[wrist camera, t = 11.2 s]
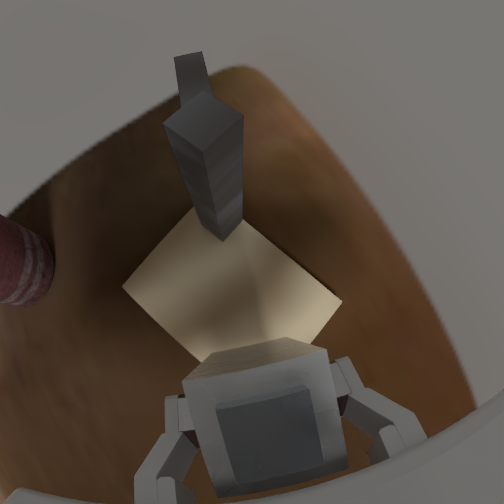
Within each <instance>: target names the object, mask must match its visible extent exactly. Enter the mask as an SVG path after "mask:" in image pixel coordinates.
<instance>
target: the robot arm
mask: <svg viewBox="0 0 504 504" xmlns="http://www.w3.org/2000/svg"><path fill="white" fill-rule="evenodd" d="M329 364H330V368H331V373H332V378H333V383H334V388H335V393H336V398H337V403H338V408H339V413H340V417H341V416H343V417H344V418H345V419H346V420H348V421H349V422H350V423H352V424H353V425H354V426H356V427H357V428H359V429H360V430H361V431H363V432H364V433H365V434H367V435H368V436H370V437H371V438H372V439H374V441H373V443H372V445H371V446H370V448H369V450H368V451H367V455H368V457H369V459H370V462H371V464H372V466H369V467H367V468H364V469H362V470H359V471H357V472H354V473H351V474H348V475H346V476H343V477H340V478H337V479H334V480H331V481H327V482H324V483H321V484H318V485H314V486H311V487H307V488H303V489H299V490H295V491H291V492H287V493H283V494H278V495H273V496H269V497H263V498H258V499H252V500H246V501H239V502H232V503H224V504H504V389H503V390H502V391H500V392H499V393H498V394H497V395H495V396H494V397H493V398H491V399H490V400H489V401H487V402H486V403H485V404H483V405H482V406H480V407H479V408H477V409H476V410H474V411H473V412H471V413H470V414H469V415H467V416H465V417H464V418H462V419H461V420H459V421H458V422H456V423H455V424H453V425H451V426H450V427H448V428H446V429H445V430H443V431H441V432H439V433H438V434H436V435H434V436H432V437H431V438H429V439H428V438H427V436H426V434H425V433H424V431H423V429H422V427H421V425H420V423H419V421H418V419H417V418H416V416H415V414H414V413H413V412H411V411H409V410H408V409H406V408H404V407H402V406H400V405H398V404H397V403H395V402H393V401H391V400H389V399H388V398H386V397H384V396H382V395H381V394H379V393H377V392H375V391H374V390H372V389H370V388H364V386H363V384H362V382H361V380H360V378H359V376H358V374H357V372H356V370H355V368H354V366H353V364H352V362H351V360H350V358H348V357H347V356H346V357H343V358H340V359H337V360H333V361H329ZM198 448H200V445H199V442H198V438H197V435H196V432H195V428H194V425H193V422H192V418H191V415H190V411H189V407H188V404H187V400H186V396H185V394H181V395H172V396H166V398H165V433H164V434H161V436H160V437H159V439H158V440H157V442H156V444H155V445H154V447H153V448H152V450H151V451H150V453H149V454H148V456H147V457H146V459H145V460H144V462H143V463H142V465H141V467H140V468H139V470H138V471H137V473H136V474H135V476H134V498H135V504H196V499H195V492H193V491H192V490H191V489H189V488H187V487H186V486H184V485H183V484H182V482H183V480H184V478H185V476H186V474H187V472H188V470H189V468H190V466H191V464H192V461H193V459H194V457H195V455H196V453H197V451H198ZM3 504H102V503H94V502H87V501H81V500H75V499H69V498H64V497H59V496H54V495H50V494H46V493H42V492H38V491H34V490H30V489H27V488H22V487H20V488H17V489H16V490H15V491H14V492H13V493H12V494H11V495H10V496H9V497H8V498H7V500H6V501H5V502H4V503H3Z"/></svg>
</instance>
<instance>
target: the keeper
mask: <svg viewBox="0 0 504 504" xmlns="http://www.w3.org/2000/svg"><path fill="white" fill-rule="evenodd" d="M174 61H175V68H176V75H177V82H178V89H179V95H180V102H181V108H180V109H179V110H177V111H176V112H175V113H174V114H173V115H171V116H170V117H169V118H168V119H167V120H166V121H164V122H163V126H164V129H165V132H166V134H167V137H168V140H169V143H170V145H171V148H172V151H173V153H174V156H175V159H176V161H177V164H178V166H179V169H180V172H181V174H182V177H183V179H184V182H185V185H186V187H187V190H188V192H189V195H190V197H191V200H192V203H193V205H194V206H193V208H192V209H191V210H190V211H189V212H188V213H187V214H186V215H185V216H184V217H183V218H182V219H181V220H180V221H179V222H178V223H177V225H176V226H175V227H174V228H173V229H172V230H171V231H170V232H169V233H168V234H167V235H166V236H165V238H164V239H163V240H162V241H161V242H160V243H159V244H158V245H157V246H156V248H155V249H154V250H153V251H152V252H151V253H150V254H149V255H148V257H147V258H146V259H145V260H144V261H143V262H142V263H141V265H140V266H139V267H138V268H137V269H136V270H135V272H134V273H133V274H132V275H131V276H130V277H129V279H128V280H127V281H126V282H125V283H124V284H123V286H122V288H123V289H124V290H125V291H126V292H127V293H128V294H129V295H130V296H131V297H132V298H133V299H134V300H135V301H136V302H137V303H138V304H139V305H140V306H141V307H142V308H143V309H144V310H145V311H146V312H147V313H148V314H149V315H150V316H151V317H152V318H153V319H154V320H155V321H156V322H157V323H158V324H159V325H160V326H161V327H163V328H164V329H165V330H166V331H167V332H168V333H169V334H170V335H171V336H172V337H173V338H174V339H175V340H177V341H178V342H179V343H180V344H181V345H182V346H183V347H184V348H185V349H186V350H188V351H189V352H190V353H191V354H192V355H193V356H194V357H196V358H197V359H198V360H199V361H200V362H201V363H202V362H203V361H204V360H205V359H206V358H207V357H208V356H209V355H210V354H211V353H213V352H219V351H224V350H229V349H234V348H238V347H243V346H248V345H252V344H257V343H261V342H265V341H270V340H274V339H278V338H282V337H289V338H292V339H295V340H298V341H301V342H304V343H307V344H310V343H311V342H312V341H313V339H314V338H315V337H316V336H317V334H318V333H319V332H320V331H321V329H322V328H323V327H324V325H325V324H326V323H327V322H328V320H329V319H330V318H331V316H332V315H333V314H334V312H335V311H336V310H337V308H338V307H339V306H340V304H341V303H342V301H341V300H340V299H339V298H337V297H336V296H335V295H334V294H333V293H331V292H330V291H329V290H328V289H327V288H326V287H324V286H323V285H322V284H321V283H320V282H318V281H317V280H316V279H315V278H314V277H312V276H311V275H310V274H309V273H308V272H306V271H305V270H304V269H303V268H302V267H300V266H299V265H298V264H297V263H296V262H294V261H293V260H292V259H291V258H289V257H288V256H287V255H286V254H285V253H283V252H282V251H281V250H280V249H279V248H277V247H276V246H275V245H274V244H272V243H271V242H270V241H269V240H268V239H266V238H265V237H264V236H263V235H261V234H260V233H259V232H258V231H257V230H255V229H254V228H253V227H252V226H250V225H249V224H248V223H247V222H245V221H244V220H243V219H242V216H243V117H244V115H242V114H241V113H239V112H237V111H236V110H234V109H233V108H231V107H229V106H228V105H226V104H224V103H223V102H221V101H220V100H218V99H216V98H215V97H213V93H212V89H211V85H210V81H209V77H208V73H207V70H206V66H205V62H204V58H203V54H202V51H201V52H197V53H191V54H186V55H182V56H178V57H174Z"/></svg>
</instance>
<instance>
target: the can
mask: <svg viewBox="0 0 504 504" xmlns="http://www.w3.org/2000/svg"><path fill="white" fill-rule="evenodd" d="M53 272H54V263H53V256H52V253H51V250H50V247H49V245H48V243H47V242H46V240H45V239H44V238H43V237H41V236H39V235H38V234H36V233H34V232H32V231H30V230H28V229H26V228H24V227H23V226H21V225H19V224H17V223H15V222H13V221H11V220H10V219H8V218H6V217H4V216H2V215H1V214H0V303H5V304H11V305H17V306H24V307H27V306H31V305H34V304H36V303H37V302H38V301H40V300H41V299H42V298H43V297H44V295H45V294H46V292H47V291H48V289H49V287H50V284H51V282H52V279H53Z"/></svg>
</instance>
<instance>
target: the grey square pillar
mask: <svg viewBox="0 0 504 504" xmlns="http://www.w3.org/2000/svg"><path fill="white" fill-rule="evenodd" d="M182 385H183V389H184V393H185V396H186V400H187V404H188V407H189V411H190V415H191V418H192V422H193V425H194V428H195V432H196V435H197V438H198V442H199V445H200V448H201V451H202V454H203V457H204V460H205V463H206V466H207V469H208V472H209V475H210V478H211V481H212V484H213V486H214V489H215V492H216V495H217V497H218V498H223V497H231V496H238V495H245V494H251V493H257V492H262V491H267V490H272V489H277V488H282V487H286V486H290V485H294V484H298V483H302V482H306V481H309V480H313V479H316V478H320V477H323V476H326V475H330V474H333V473H336V472H339V471H342V470H345V469H347V468H349V465H348V459H347V453H346V447H345V441H344V435H343V430H342V424H341V419H340V413H339V408H338V403H337V398H336V393H335V388H334V383H333V378H332V373H331V368H330V364H329V359H328V354H327V350H326V349H324V348H320V347H317V346H314V345H311V344H307V343H304V342H301V341H298V340H295V339H292V338H289V337H282V338H278V339H274V340H270V341H265V342H261V343H257V344H252V345H248V346H243V347H238V348H234V349H229V350H224V351H219V352H213V353H211V354H210V355H209V356H208V357H207V358H206V359H205V360H204V361H203V362H202V363H201V364H200V365H199V366H197V367H196V368H195V369H194V370H193V371H192V372H191V373H190V374H189V375H188V376H187V377H186V378H185V379H184V380H182Z"/></svg>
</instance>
